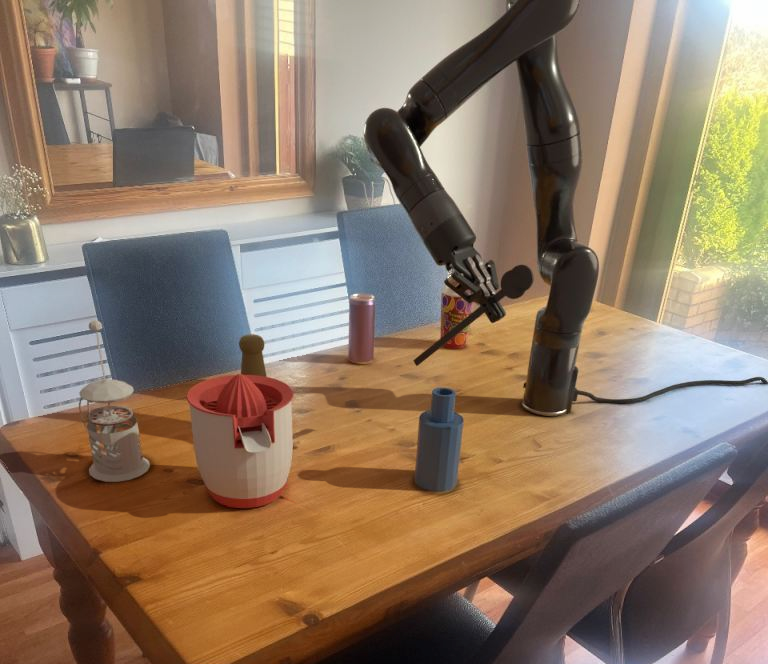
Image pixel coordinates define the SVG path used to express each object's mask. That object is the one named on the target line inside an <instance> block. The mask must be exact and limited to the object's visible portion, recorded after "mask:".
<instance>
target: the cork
mask: <svg viewBox="0 0 768 664" xmlns="http://www.w3.org/2000/svg"><path fill="white" fill-rule="evenodd" d="M238 346H239V349H240V351H241V364H240V365H241V366H240V374H242V375H257V376H264V377H268V376H267V370H266V365H265V360H264V353H263V351H264V349H265V340H264V338H263V337H262V336H260V335H259V334H255V333H253V334H252V333H250V334H244V335H242V336H241V337H240V339H239V341H238Z"/></svg>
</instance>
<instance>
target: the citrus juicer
mask: <svg viewBox="0 0 768 664" xmlns="http://www.w3.org/2000/svg"><path fill="white" fill-rule="evenodd" d="M293 399H294V391H293V390H292V387H290V386H289V384H287V383H285V382H283V381H282V380H279V379H276V378H274V377H273V378H272V377H268V376H267V377H264V376H257V375H242V374H241V373H237V374H233V375H232V374H231V375H230V374H229V375H223V376H217V377H213V378H208V379H205V380H202V381H201V382H199V383H197V384H195V385H193V386H192V387H190V389H189V390H188V392H187V395H186V400H187V403H188V404H189V413H190V420H191V431H192V439H193V449H194V455H195V460H196V465H197V467H198V471H199V474H200V476H201V478H202V481H203V484H204V486H205V488H206V490H207V492H208V493H209V495H210V496H211V498H212V500H214V501H215V502H217V503H219V504H220V505H223V506H226V507H227V508H236V509H237V508H238V509H250V508H258V507H262V506H265V505H268V504H271V503H273V502H275V501H276V500H277V499H279V498H280V496H281V495H282V494H283V492H284V490H285V487H286V486H287V482H288V480H289V474H290V470H291V467H292V460H293V448H294V447H293V441H294V440H293V407H292V406H293V405H292V400H293Z"/></svg>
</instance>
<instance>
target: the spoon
mask: <svg viewBox="0 0 768 664" xmlns="http://www.w3.org/2000/svg"><path fill="white" fill-rule="evenodd" d="M534 279H535V276H534V272H533V270H532V268H530V266H528V265H527V264H517V265H515V266H514V267H512V269H509V270H507V271H506V272H505V273H503V275H502V276H501V278H500V290H498V291H496V294H495V295H494V296H492V298H493V300H494V301H495V303H497V302H500V301H501V300H502V299H504V298H505V297H507V299H510V300H517V299H520V298H521V297H523V296H524V295H525V293H526V292H527V291H528V290H530V289H531V288H532V286H533V285H534V281H535V280H534ZM484 314H485V312H484V311H483V309H482V308H481V306H480V305H479V306H478V307H477V308H476V309H475V310H474V311H472V313H471V314H470V315H469V316H468V317H466V318H465V319H464V320H463V321H461V322H460V323H459V324H458V325H456V326H455V327H454V328H453V329H451V330H450V331H449V332H448V333H447V334H445V335H444V336H443V337H442V338H439V339H438V340H436V342H434V343H433V344H432V345H430V346H429V347H428V348H426V350H424V351H423V352H422V353H421V354H419V355H418V356H417V357H416V358H414V359H413V360H412V361H413V363H414V365H415V366H416V367H418V366H419V365H421V364H422V363H423V362H425V361H426V360H427V359H428V358H430V357H431V356H432V355H434V354H435V353H436V352H437V351H438V350H439V349H441V348H442V347H444V346H443V345H444V344H446V343H447V342H448V341H449V340H451V339H452V338H453V337H455V336H456V335H457V334H458V333H460V332H461V331H462V330H463V329H465V328H466V327H467V326H468V325H470V326H471V324H473V322H475V321H476V320H478V319H479V318H480V317H481V316H482V315H484Z"/></svg>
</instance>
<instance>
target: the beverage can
mask: <svg viewBox="0 0 768 664" xmlns="http://www.w3.org/2000/svg"><path fill="white" fill-rule="evenodd" d="M375 325H376V297H375V295H373V294H370V293H353V294H350V297H349V300H348V348H347V349H348V350H347V351H348V354H347V358H348V360H349V362H351V363H353V364H356V365H367V364H370V363H372V362H373V360H374V354H375V353H374V352H375V327H376V326H375Z"/></svg>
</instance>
